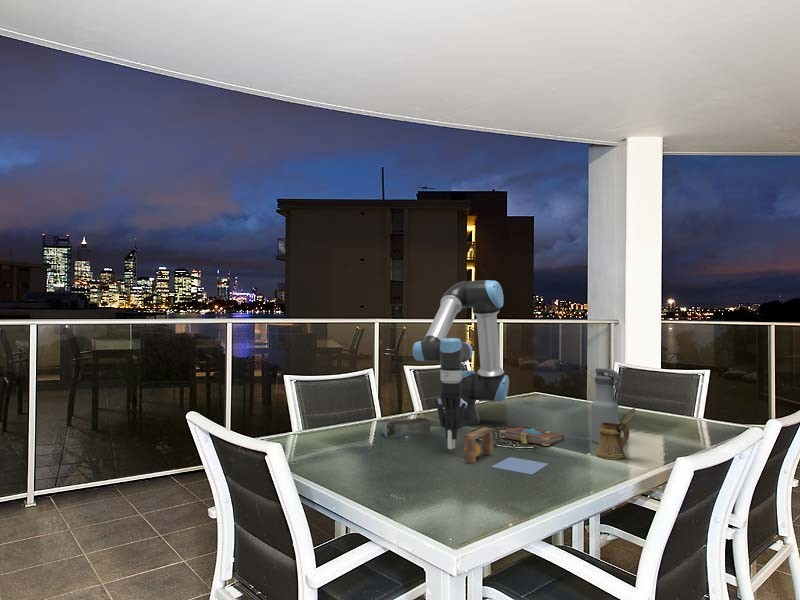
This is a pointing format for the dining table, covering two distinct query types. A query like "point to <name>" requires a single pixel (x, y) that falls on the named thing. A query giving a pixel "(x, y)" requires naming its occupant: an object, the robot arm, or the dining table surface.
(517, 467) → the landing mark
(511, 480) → the dining table surface
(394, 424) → the beverage carton
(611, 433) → the wooden mug
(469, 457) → the bridge
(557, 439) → the book
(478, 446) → the ball
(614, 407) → the water bottle
